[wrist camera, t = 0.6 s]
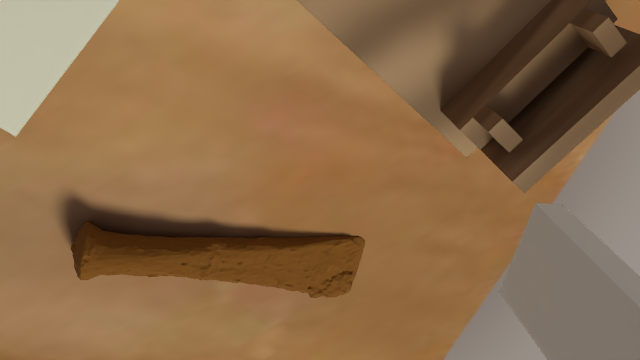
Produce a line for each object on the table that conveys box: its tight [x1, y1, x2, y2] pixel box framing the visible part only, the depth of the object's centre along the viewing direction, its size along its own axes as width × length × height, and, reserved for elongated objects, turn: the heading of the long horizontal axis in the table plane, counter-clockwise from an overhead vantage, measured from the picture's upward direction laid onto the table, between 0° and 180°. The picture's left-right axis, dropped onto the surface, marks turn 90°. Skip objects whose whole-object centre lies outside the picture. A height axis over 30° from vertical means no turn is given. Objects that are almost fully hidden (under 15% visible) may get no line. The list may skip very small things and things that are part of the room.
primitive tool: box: [71, 222, 365, 298], centre depth 37 cm, size 19×6×4 cm, turn 77°
